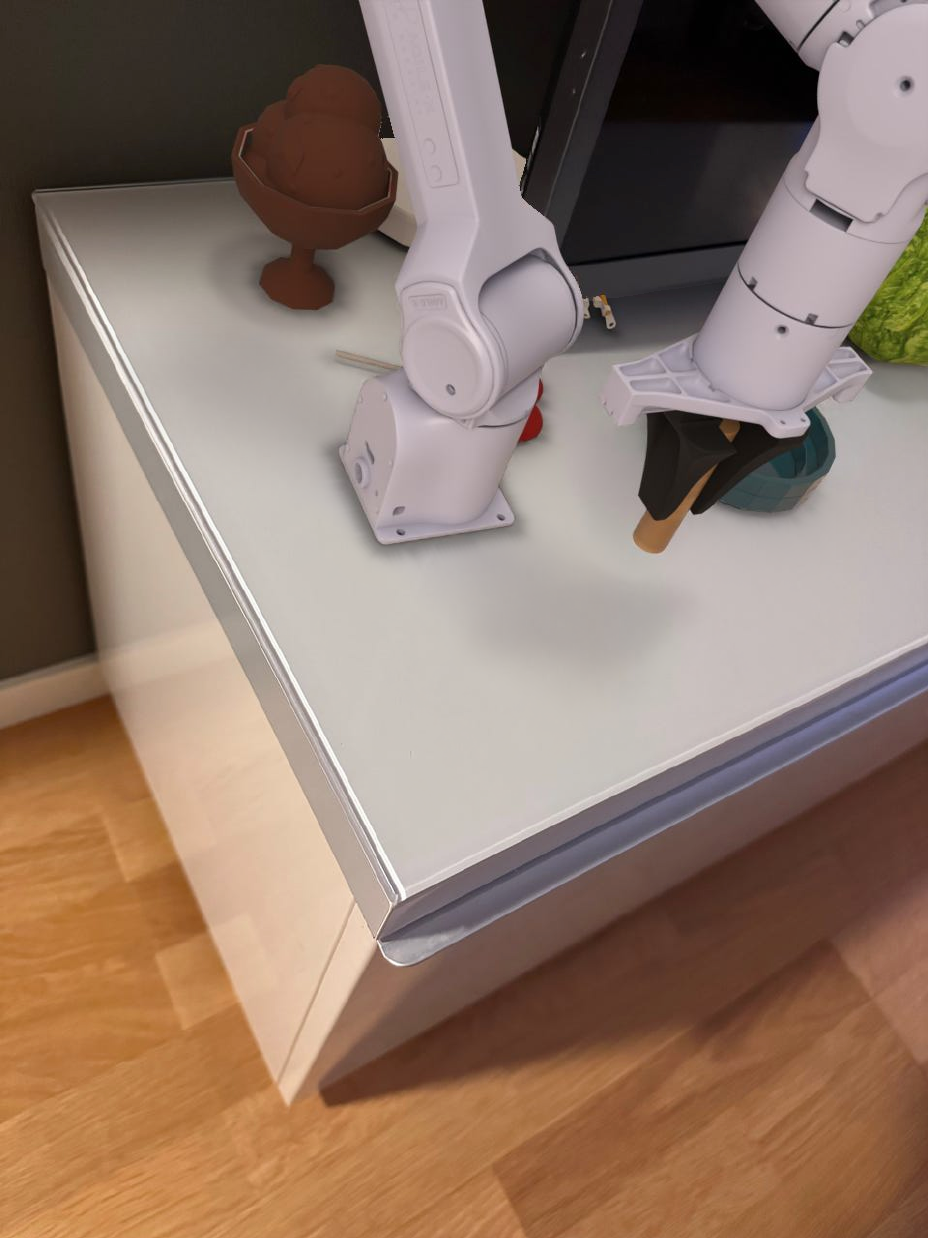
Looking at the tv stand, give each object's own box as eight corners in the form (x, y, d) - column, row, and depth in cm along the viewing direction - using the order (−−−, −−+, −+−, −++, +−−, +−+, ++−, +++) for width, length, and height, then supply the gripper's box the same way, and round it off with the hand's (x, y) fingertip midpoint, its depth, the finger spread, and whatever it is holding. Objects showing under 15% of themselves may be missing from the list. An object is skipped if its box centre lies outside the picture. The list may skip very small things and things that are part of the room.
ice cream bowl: (207, 235, 70) (224, 18, 58) (354, 245, 74) (396, 45, 63) (232, 331, 65) (255, 114, 53) (388, 336, 69) (441, 136, 57)
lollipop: (326, 396, 63) (540, 450, 66) (328, 385, 63) (544, 441, 65) (342, 322, 68) (540, 375, 71) (344, 311, 67) (544, 366, 70)
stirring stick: (643, 556, 53) (715, 435, 46) (626, 529, 54) (695, 407, 47) (672, 551, 54) (747, 431, 47) (655, 525, 55) (726, 404, 48)
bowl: (707, 528, 66) (732, 494, 64) (619, 396, 72) (639, 360, 70) (841, 504, 72) (869, 473, 70) (749, 384, 78) (772, 351, 76)
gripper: (714, 356, 36) (590, 581, 46) (971, 337, 42) (810, 540, 53) (627, 246, 40) (530, 478, 50) (876, 243, 46) (743, 450, 56)
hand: (669, 504), depth 51 cm, fingers closed on stirring stick, 2 cm apart
